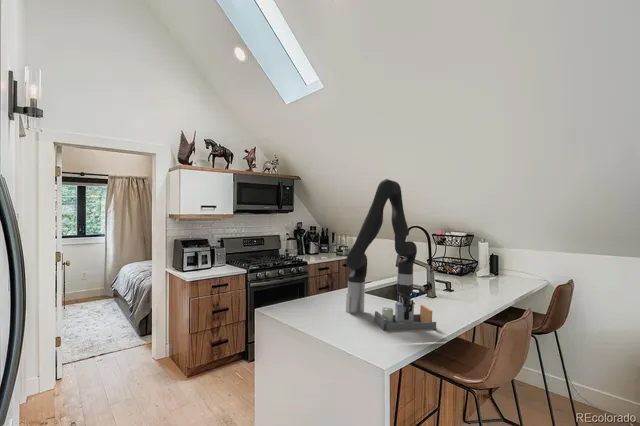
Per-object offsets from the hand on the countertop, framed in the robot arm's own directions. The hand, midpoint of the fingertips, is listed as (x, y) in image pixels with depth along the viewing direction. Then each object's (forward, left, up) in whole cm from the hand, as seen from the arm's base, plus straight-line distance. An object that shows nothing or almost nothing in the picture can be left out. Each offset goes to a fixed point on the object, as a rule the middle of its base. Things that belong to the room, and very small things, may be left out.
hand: (404, 317), depth 158 cm
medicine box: (0, 0, -2) cm, 2 cm away
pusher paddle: (+11, 0, -4) cm, 12 cm away
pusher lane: (0, 0, -5) cm, 5 cm away
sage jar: (-9, 0, -4) cm, 9 cm away
